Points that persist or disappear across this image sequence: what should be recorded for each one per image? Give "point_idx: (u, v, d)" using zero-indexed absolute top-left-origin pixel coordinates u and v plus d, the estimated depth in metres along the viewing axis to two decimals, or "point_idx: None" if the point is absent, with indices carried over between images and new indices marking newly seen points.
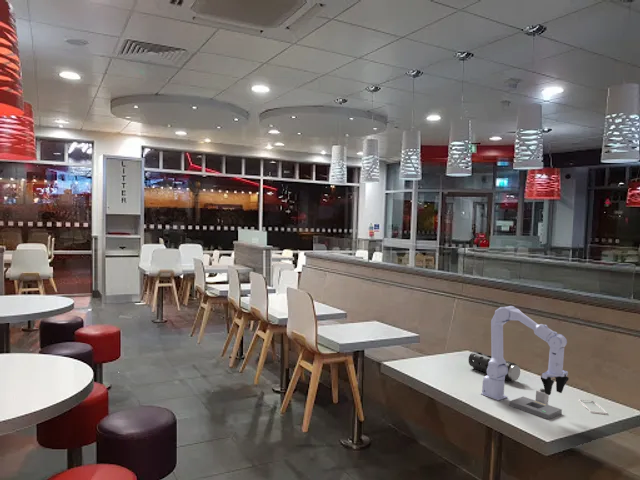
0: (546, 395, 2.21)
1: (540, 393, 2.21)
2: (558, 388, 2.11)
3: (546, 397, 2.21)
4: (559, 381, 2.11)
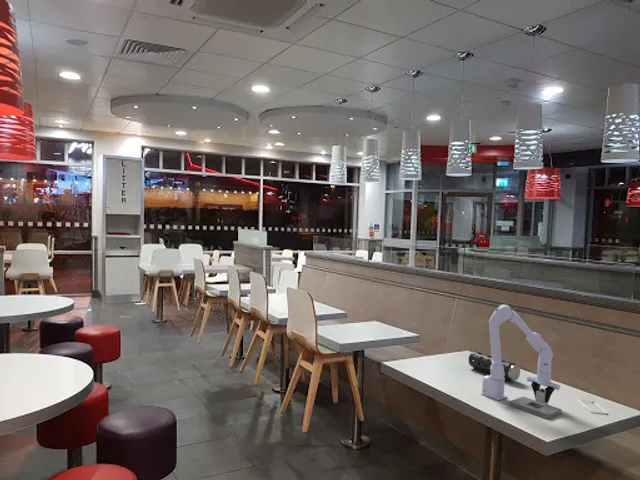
0: None
1: (540, 393, 2.21)
2: None
3: None
4: None
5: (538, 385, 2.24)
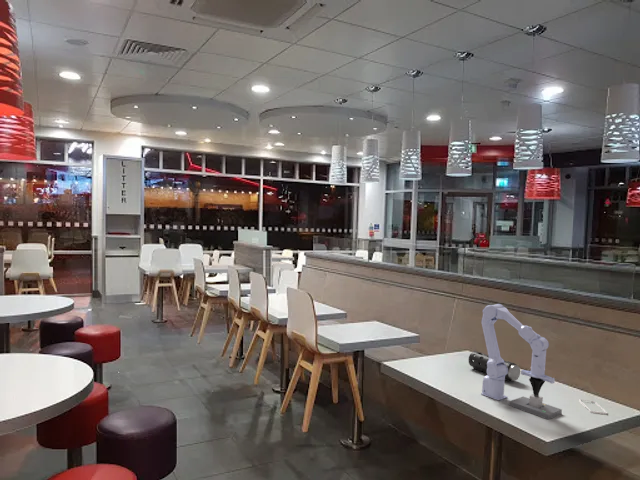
0: (540, 400, 2.13)
1: (533, 398, 2.14)
2: None
3: (540, 402, 2.14)
4: None
5: None
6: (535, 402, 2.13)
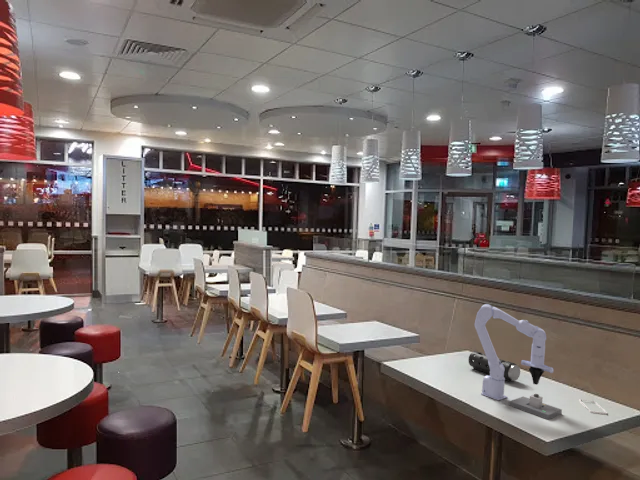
0: (540, 400, 2.13)
1: (533, 399, 2.13)
2: None
3: (540, 402, 2.13)
4: None
5: None
6: (535, 402, 2.13)
